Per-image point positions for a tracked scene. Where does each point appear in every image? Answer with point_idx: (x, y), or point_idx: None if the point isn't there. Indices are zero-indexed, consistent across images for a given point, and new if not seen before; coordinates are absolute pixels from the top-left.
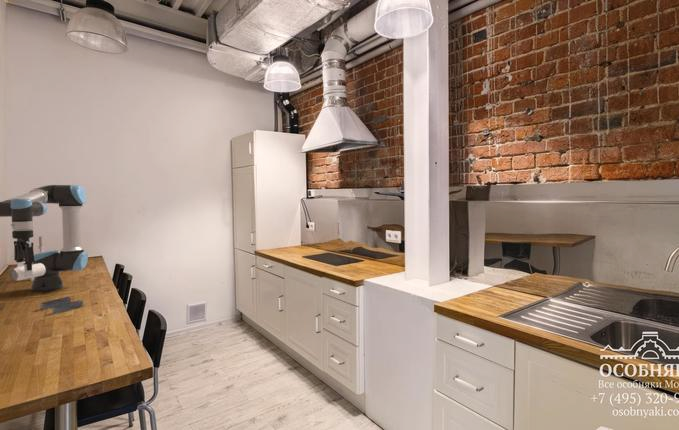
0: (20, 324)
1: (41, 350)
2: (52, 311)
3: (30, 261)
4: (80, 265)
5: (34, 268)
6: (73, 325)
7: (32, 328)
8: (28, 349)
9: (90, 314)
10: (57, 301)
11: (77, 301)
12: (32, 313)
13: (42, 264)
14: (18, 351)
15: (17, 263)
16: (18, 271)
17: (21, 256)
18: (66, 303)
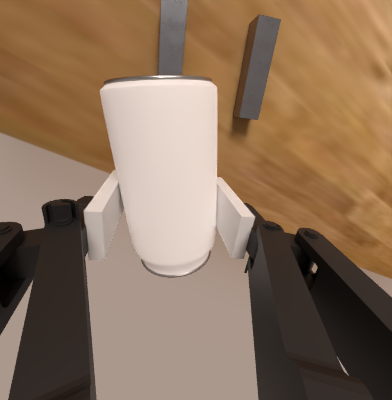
0: (241, 197)
1: (381, 235)
2: (234, 116)
3: (311, 262)
4: None
5: (214, 169)
6: (359, 154)
7: (288, 198)
8: (360, 241)
9: (349, 82)
10: (182, 57)
11: (266, 33)
12: None
13: (196, 89)
14: (351, 250)
15: (99, 255)
16: (208, 253)
17: (85, 284)
18: (249, 70)
